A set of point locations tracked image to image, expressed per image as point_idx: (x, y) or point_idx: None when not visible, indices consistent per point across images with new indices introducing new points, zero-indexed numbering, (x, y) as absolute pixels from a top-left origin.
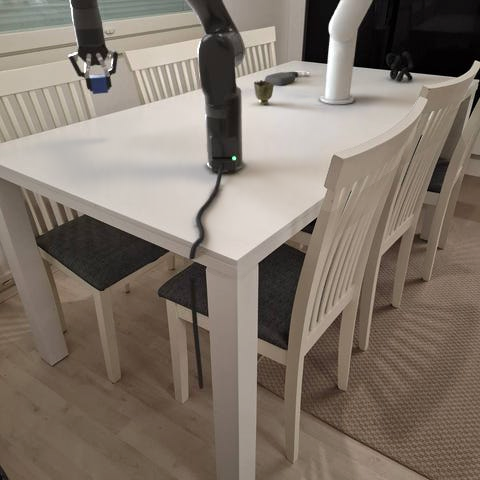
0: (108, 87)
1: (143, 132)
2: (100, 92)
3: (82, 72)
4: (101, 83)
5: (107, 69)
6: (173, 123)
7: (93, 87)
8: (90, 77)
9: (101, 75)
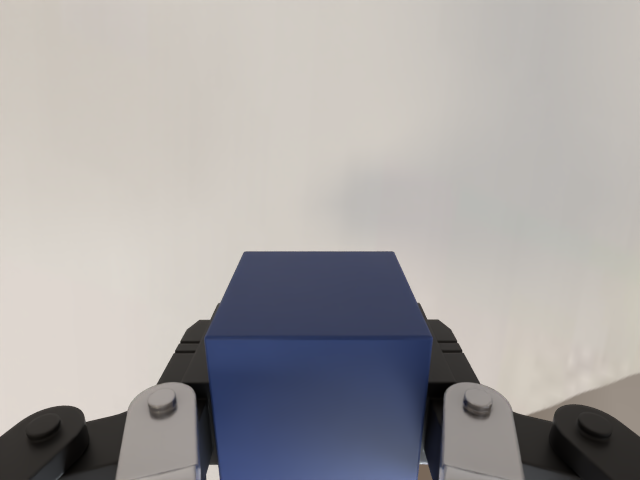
0: None
1: (152, 246)
2: (320, 253)
3: (550, 477)
4: (287, 295)
5: (120, 465)
6: (9, 323)
7: (388, 279)
8: (420, 393)
9: (263, 450)
